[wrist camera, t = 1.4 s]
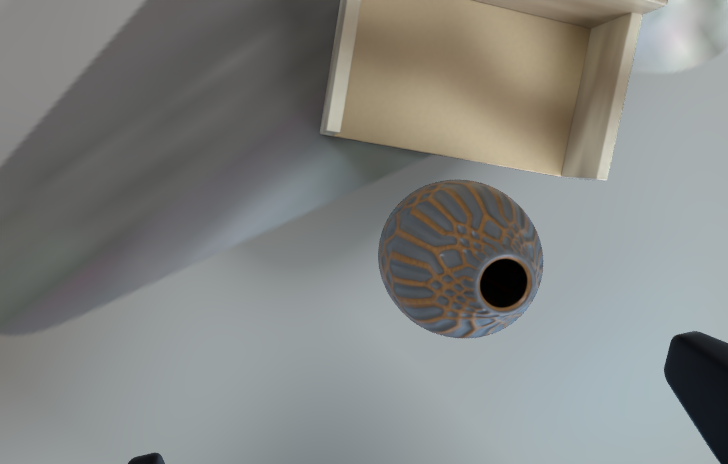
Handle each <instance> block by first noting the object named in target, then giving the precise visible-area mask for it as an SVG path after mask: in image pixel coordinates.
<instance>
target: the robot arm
mask: <svg viewBox="0 0 728 464" xmlns="http://www.w3.org/2000/svg"><path fill="white" fill-rule="evenodd" d="M664 373H665V377H666V380H667V382H668V384H669V385H670V387H671V389H672V390H673V392H674V393H675V395H676V396H677V398H678V399H679V401H680V402H681V404H682V406H683V407H684V409H685V410H686V412H687V414H688V415H689V417H690V418H691V420H692V421H693V423H694V425H695V426H696V427H697V429H698V431H699V432H700V434H701V435H702V437H703V438H704V440H705V441H706V443H707V445H708V446H709V448H710V449H711V451H712V452H713V454H714V455H715V457H716V458H717V459H718V461H719V462H720V463H721V464H728V343H726V342H723V341H721V340H718V339H716V338H713V337H711V336H709V335H706V334H703V333H701V332H697V331H693V332H688V333H684V334H679V335H676V336H674V337H673V339H672V340H671V343H670V347H669V351H668V355H667V359H666V363H665V367H664ZM128 464H165V463H164V460H163V458H162V456H161V455H160V454H159V453H151V454H147V455H143V456H138V457H135V458H133V459H132V460H131V461H129V463H128Z"/></svg>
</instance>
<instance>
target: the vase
mask: <svg viewBox="0 0 728 464" xmlns="http://www.w3.org/2000/svg"><path fill="white" fill-rule="evenodd" d="M378 260H379V269H380V273H381V277H382V280H383V283H384V285H385V287H386V289H387V292H388V294H389V295H390V297H391V298H392V300H393V301H394V303H395V304H396V305H397V306H398V308H399V309H400V310H401V311H402V312H403V313H404V314H405V315H406V316H407V317H408V318H409V319H410V320H412V321H413V322H414V323H416V324H417V325H419V326H421V327H423V328H424V329H426V330H429V331H431V332H434V333H436V334H440V335H443V336H448V337H454V338H476V337H482V336H486V335H489V334H493V333H495V332H497V331H500V330H502V329H504V328H506V327H507V326H509V325H510V324H512V323H513V322H514V321H516V320H517V319H518V318H519V317H520V316H521V315H522V314H523V313H524V311H526V309H527V308H528V307H529V305H530V304H531V302H532V301H533V299H534V297H535V295H536V293H537V290H538V288H539V285H540V282H541V278H542V272H543V253H542V247H541V243H540V240H539V236H538V234H537V231H536V229H535V227H534V225H533V224H532V222H531V220H530V219H529V217H528V216H527V214H526V213H525V212H524V211H523V210H522V208H521V207H520V206H519V205H518V204H517V203H515V202H514V201H513V200H512V199H511V198H510V197H508V196H507V195H506V194H504V193H502V192H501V191H499V190H497V189H495V188H493V187H491V186H488V185H486V184H482V183H479V182H474V181H468V180H446V181H440V182H435V183H432V184H429V185H426V186H424V187H422V188H420V189H418V190H416V191H414V192H413V193H411V194H410V195H409V196H407V197H406V198H405V199H404V200H403V201H401V202H400V203H399V204H398V205H397V207H396V208H395V209H394V210H393V212H392V213H391V215H390V216H389V218H388V219H387V222H386V224H385V226H384V228H383V231H382V234H381V238H380V243H379V253H378Z"/></svg>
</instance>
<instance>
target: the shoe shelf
mask: <svg viewBox="0 0 728 464" xmlns="http://www.w3.org/2000/svg"><path fill="white" fill-rule="evenodd" d="M667 2H668V0H340V6H339V13H338V19H337V26H336V32H335V38H334V45H333V51H332V58H331V64H330V70H329V77H328V83H327V90H326V96H325V102H324V109H323V115H322V122H321V128H320V134H323V135H328V136H334V137H339V138H345V139H351V140H356V141H362V142H367V143H373V144H379V145H384V146H390V147H395V148H401V149H407V150H412V151H418V152H423V153H429V154H434V155H440V156H446V157H451V158H457V159H462V160H468V161H474V162H479V163H485V164H491V165H497V166H502V167H507V168H513V169H518V170H524V171H530V172H535V173H541V174H546V175H552V176H559V177H563V178H572V179H587V180H601V181H606V180H607V179H608V174H609V170H610V165H611V160H612V156H613V151H614V146H615V142H616V137H617V132H618V127H619V123H620V119H621V114H622V109H623V105H624V100H625V95H626V90H627V86H628V82H629V77H630V72H631V68H632V63H633V58H634V54H635V49H636V45H637V40H638V35H639V31H640V26H641V21H642V17H643V14H645V13H648V12H651V11H653V10H656V9H658V8H661V7H663V6H666V5H667Z"/></svg>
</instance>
